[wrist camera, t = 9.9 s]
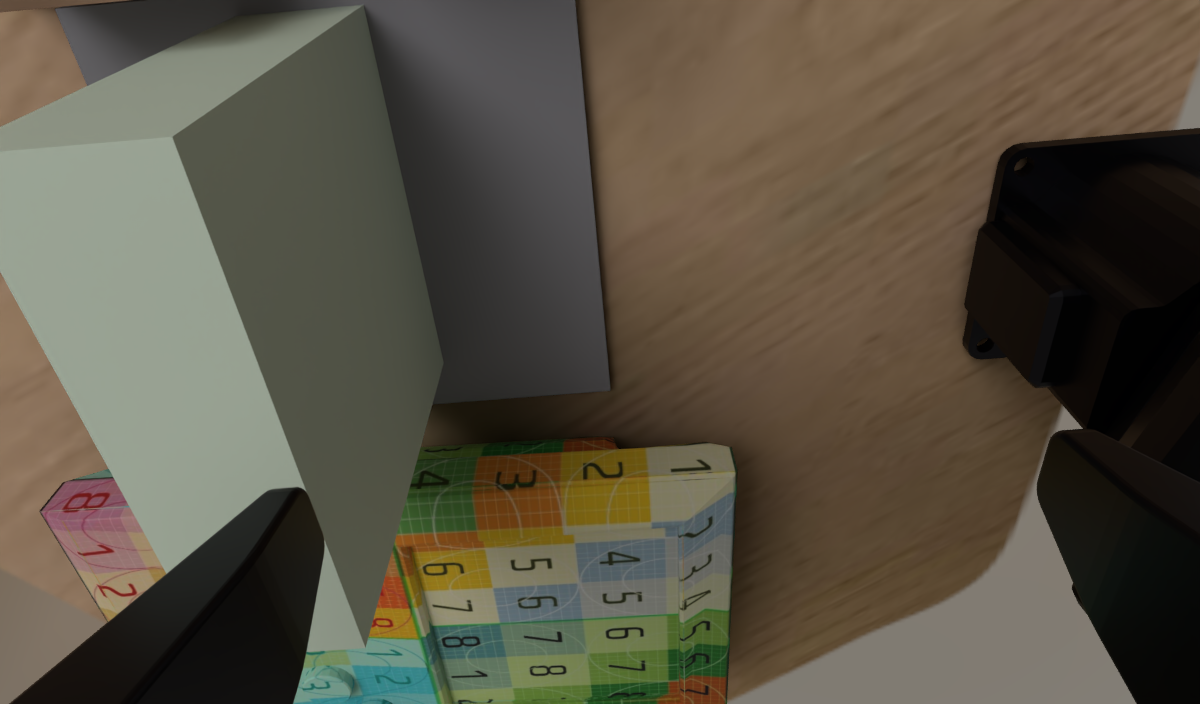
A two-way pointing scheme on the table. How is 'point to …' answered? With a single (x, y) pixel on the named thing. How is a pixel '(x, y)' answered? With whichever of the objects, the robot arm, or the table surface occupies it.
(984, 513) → the table surface
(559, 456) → the puzzle game
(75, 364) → the board
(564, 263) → the mat
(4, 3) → the rack
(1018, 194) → the robot arm
